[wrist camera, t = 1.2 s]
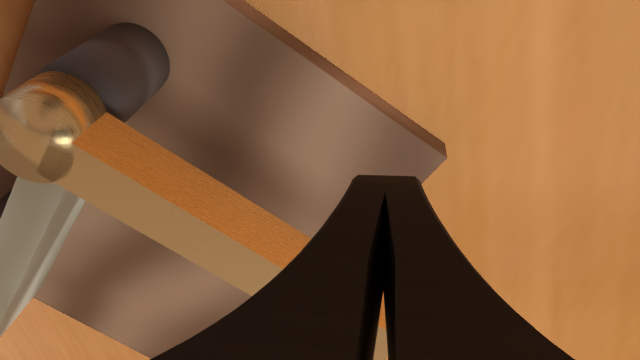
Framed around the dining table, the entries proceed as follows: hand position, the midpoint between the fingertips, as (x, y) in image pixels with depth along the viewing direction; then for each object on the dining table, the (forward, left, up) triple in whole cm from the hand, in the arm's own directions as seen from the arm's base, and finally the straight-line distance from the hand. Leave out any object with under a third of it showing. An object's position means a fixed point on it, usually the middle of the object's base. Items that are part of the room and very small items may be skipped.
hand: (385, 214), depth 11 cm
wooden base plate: (-4, -12, -10) cm, 16 cm away
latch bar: (-2, -5, -4) cm, 7 cm away
